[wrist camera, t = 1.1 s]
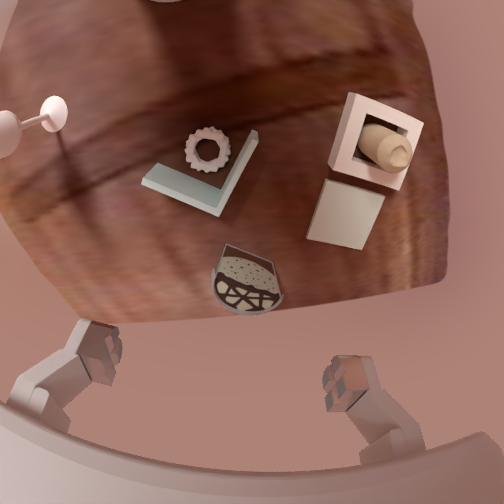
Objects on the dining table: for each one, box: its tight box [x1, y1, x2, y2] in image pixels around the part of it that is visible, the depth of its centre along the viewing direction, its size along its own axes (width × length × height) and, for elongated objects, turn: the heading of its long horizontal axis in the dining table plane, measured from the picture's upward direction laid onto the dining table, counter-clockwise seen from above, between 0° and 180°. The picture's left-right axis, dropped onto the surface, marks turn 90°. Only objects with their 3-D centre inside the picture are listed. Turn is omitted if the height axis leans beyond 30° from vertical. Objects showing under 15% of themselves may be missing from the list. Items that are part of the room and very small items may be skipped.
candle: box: [357, 123, 413, 173], centre depth 36 cm, size 6×6×10 cm
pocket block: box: [327, 92, 424, 190], centre depth 39 cm, size 12×12×4 cm
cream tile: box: [306, 178, 385, 250], centre depth 47 cm, size 11×11×1 cm
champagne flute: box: [0, 96, 68, 159], centre depth 26 cm, size 7×7×24 cm
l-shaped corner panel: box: [141, 127, 259, 217], centre depth 39 cm, size 12×12×8 cm
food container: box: [211, 243, 284, 315], centre depth 49 cm, size 12×6×10 cm, turn 64°
